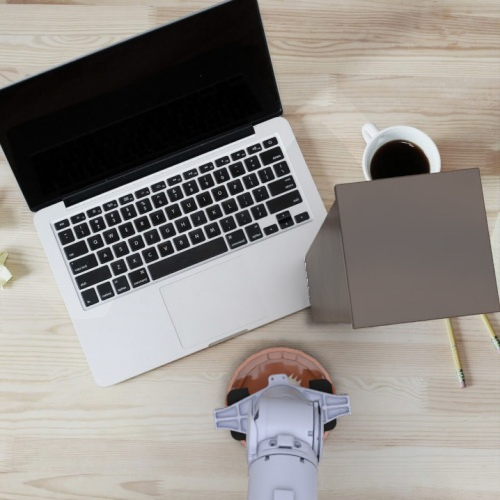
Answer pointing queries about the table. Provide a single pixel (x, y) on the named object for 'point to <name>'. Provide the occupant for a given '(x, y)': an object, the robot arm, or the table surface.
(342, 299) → the taupe notched tower
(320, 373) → the bowl
